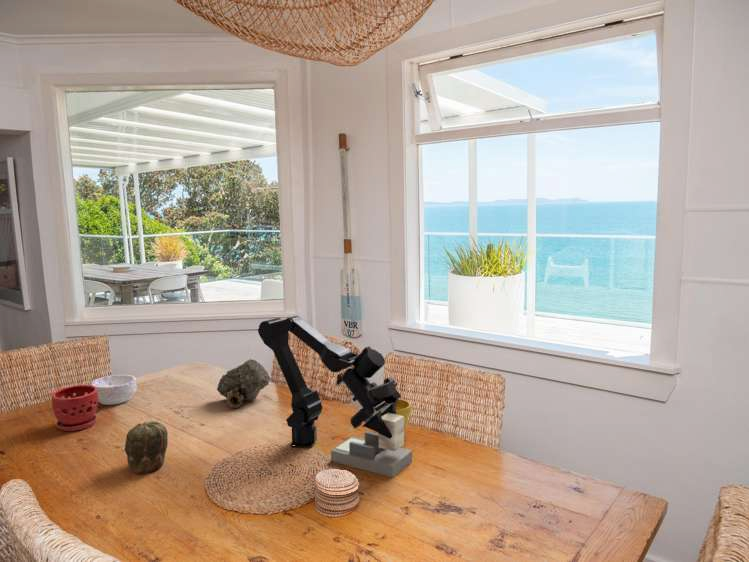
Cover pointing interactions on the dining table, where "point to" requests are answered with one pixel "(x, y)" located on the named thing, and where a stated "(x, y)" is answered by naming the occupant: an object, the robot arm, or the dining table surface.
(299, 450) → the dining table surface
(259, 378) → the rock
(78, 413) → the plant pot
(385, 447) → the cream block
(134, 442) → the olive lumpy chunk
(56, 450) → the dining table surface
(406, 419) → the plant pot
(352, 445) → the tunnel deck
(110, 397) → the white bowl
